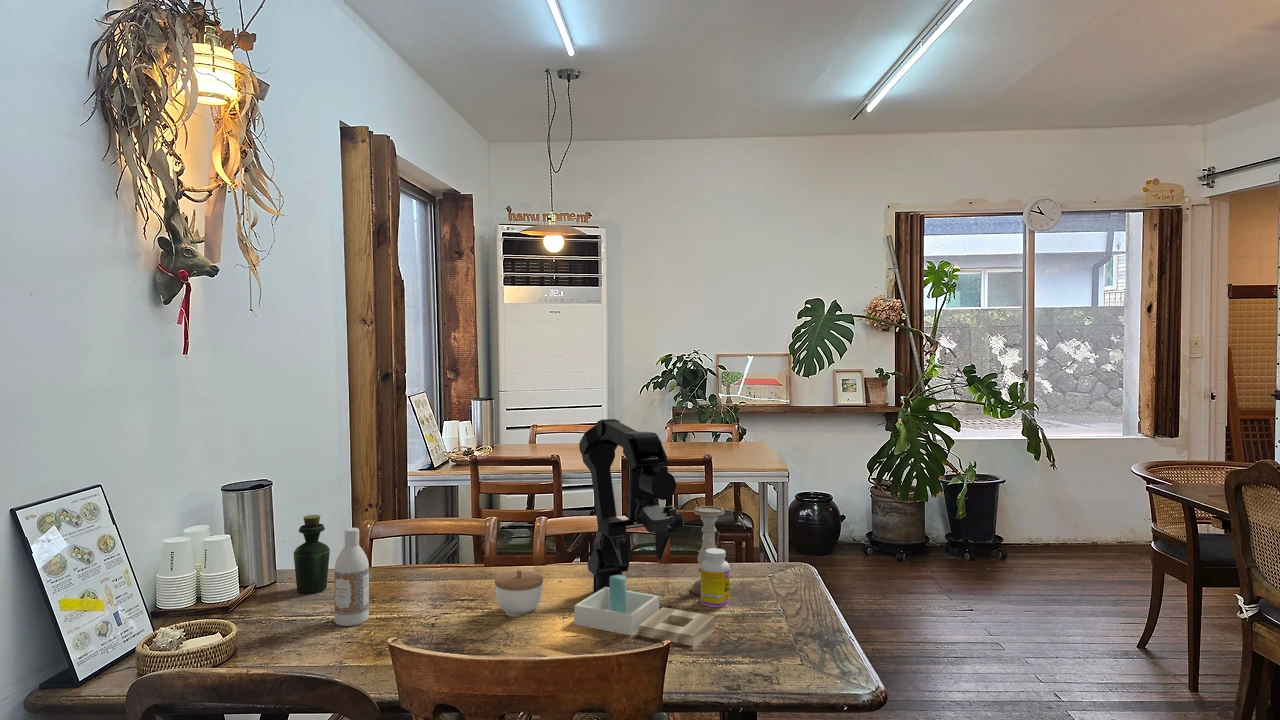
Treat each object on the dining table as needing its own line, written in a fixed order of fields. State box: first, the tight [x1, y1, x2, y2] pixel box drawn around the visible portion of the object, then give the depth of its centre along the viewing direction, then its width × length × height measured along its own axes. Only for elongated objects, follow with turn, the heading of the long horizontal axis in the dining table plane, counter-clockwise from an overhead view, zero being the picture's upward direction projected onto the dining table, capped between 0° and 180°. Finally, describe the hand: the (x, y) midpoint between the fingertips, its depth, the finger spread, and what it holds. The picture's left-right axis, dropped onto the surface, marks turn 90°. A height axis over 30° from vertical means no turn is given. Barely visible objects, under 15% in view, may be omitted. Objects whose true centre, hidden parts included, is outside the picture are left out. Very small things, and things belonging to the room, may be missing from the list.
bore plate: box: [638, 607, 715, 652], centre depth 153 cm, size 12×12×3 cm
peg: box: [609, 574, 627, 613], centre depth 160 cm, size 4×4×9 cm
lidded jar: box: [494, 569, 544, 618], centre depth 166 cm, size 11×11×9 cm
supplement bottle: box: [700, 547, 731, 608], centre depth 171 cm, size 7×7×13 cm
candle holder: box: [690, 505, 726, 597], centre depth 181 cm, size 9×9×20 cm
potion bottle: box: [292, 514, 331, 595], centre depth 180 cm, size 8×8×18 cm
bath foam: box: [333, 527, 370, 627], centre depth 160 cm, size 7×7×20 cm
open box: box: [573, 587, 660, 637], centre depth 160 cm, size 14×14×5 cm
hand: (640, 561), depth 160 cm, fingers open, 9 cm apart
